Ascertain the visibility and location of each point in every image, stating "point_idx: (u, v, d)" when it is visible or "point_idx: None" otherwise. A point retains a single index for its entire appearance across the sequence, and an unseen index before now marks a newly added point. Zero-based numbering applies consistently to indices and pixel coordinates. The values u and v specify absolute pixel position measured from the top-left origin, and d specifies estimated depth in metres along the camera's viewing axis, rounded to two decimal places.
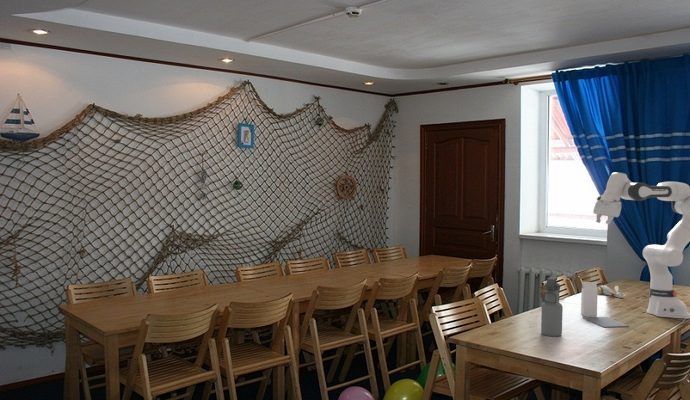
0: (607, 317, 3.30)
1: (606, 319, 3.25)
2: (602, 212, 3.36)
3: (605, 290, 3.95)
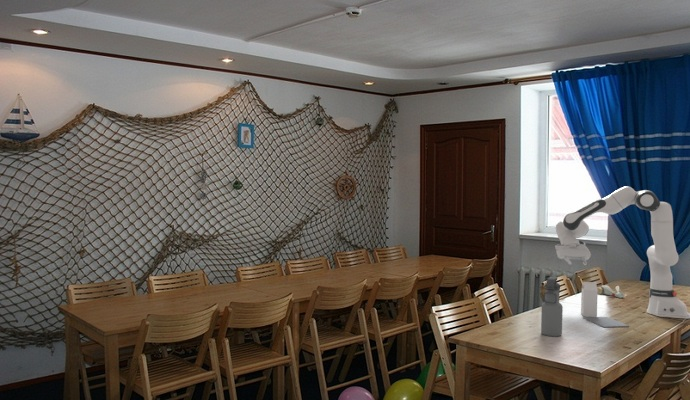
0: (607, 317, 3.30)
1: (606, 319, 3.25)
2: None
3: (606, 290, 3.95)
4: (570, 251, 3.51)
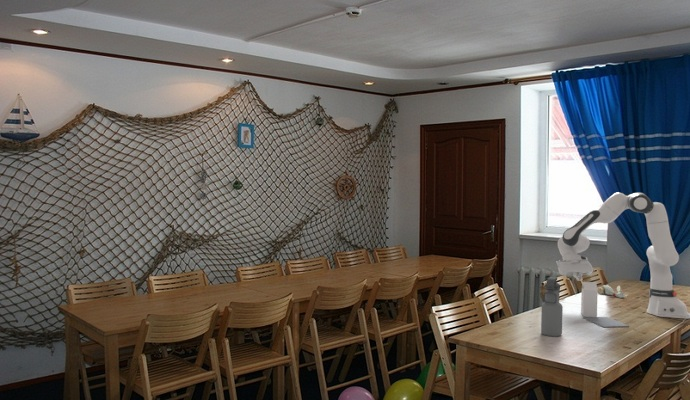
0: (607, 317, 3.30)
1: (606, 319, 3.25)
2: None
3: (607, 290, 3.96)
4: (572, 267, 3.49)
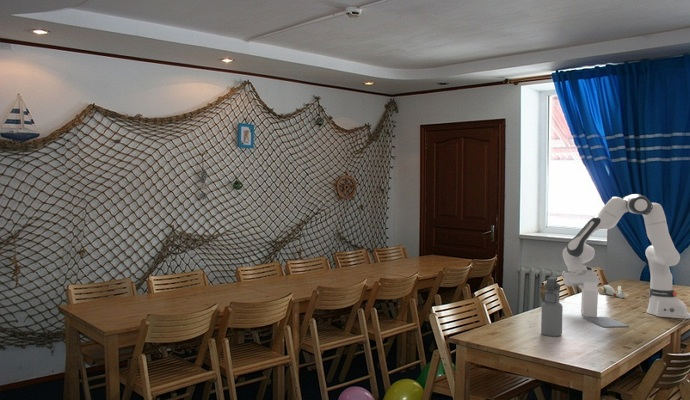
0: (607, 317, 3.30)
1: (606, 319, 3.25)
2: None
3: (607, 290, 3.96)
4: (577, 278, 3.43)
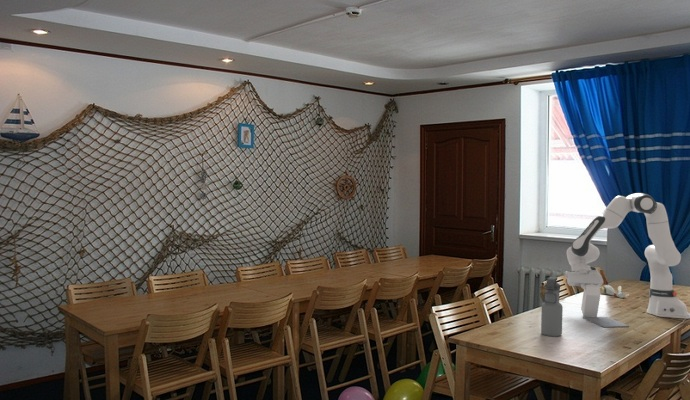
0: (607, 317, 3.30)
1: (606, 319, 3.25)
2: None
3: (608, 290, 3.96)
4: (581, 278, 3.38)
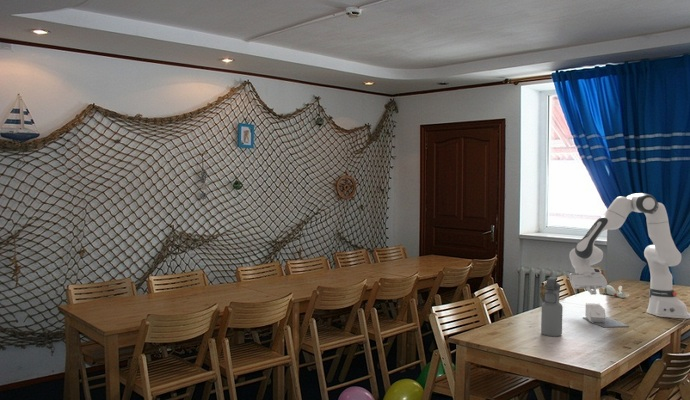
0: (607, 317, 3.30)
1: (606, 319, 3.25)
2: None
3: (608, 290, 3.96)
4: (585, 280, 3.35)
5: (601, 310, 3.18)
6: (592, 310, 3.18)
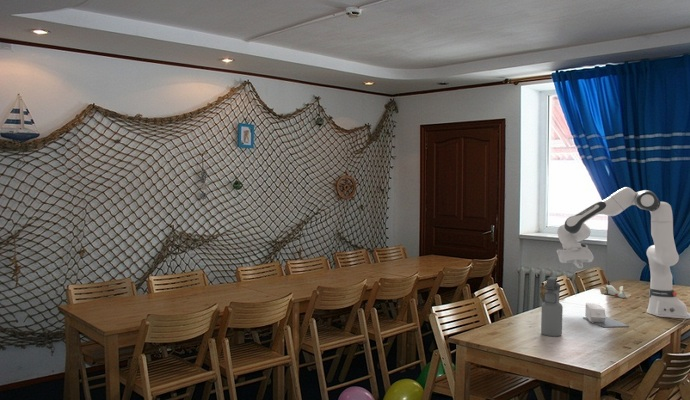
0: (607, 317, 3.30)
1: (606, 319, 3.25)
2: None
3: (609, 290, 3.96)
4: (572, 255, 3.50)
5: (601, 310, 3.18)
6: (592, 310, 3.18)
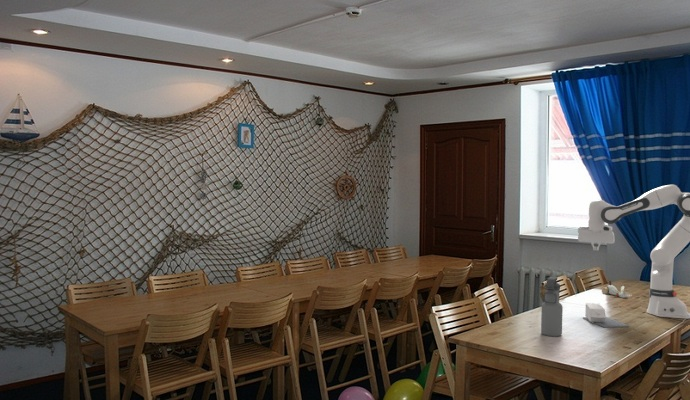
0: (607, 317, 3.30)
1: (606, 319, 3.25)
2: None
3: (610, 290, 3.96)
4: (590, 237, 3.58)
5: (601, 310, 3.18)
6: (592, 310, 3.18)
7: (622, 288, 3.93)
